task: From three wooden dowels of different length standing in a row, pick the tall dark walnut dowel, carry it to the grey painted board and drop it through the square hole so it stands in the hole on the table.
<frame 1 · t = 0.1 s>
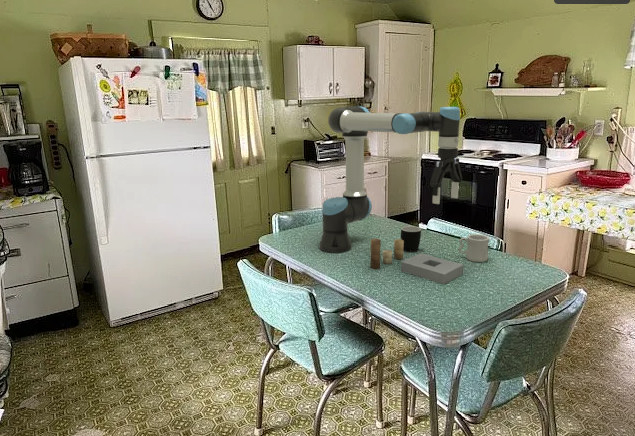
hand: (445, 200, 184), 28 cm above the table, fingers open, 13 cm apart
short pin: (387, 262, 197), on the table
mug: (408, 249, 213), on the table
long pin: (375, 267, 191), on the table
hole board: (431, 272, 185), on the table
medium pin: (398, 257, 202), on the table
mug 2: (472, 259, 199), on the table
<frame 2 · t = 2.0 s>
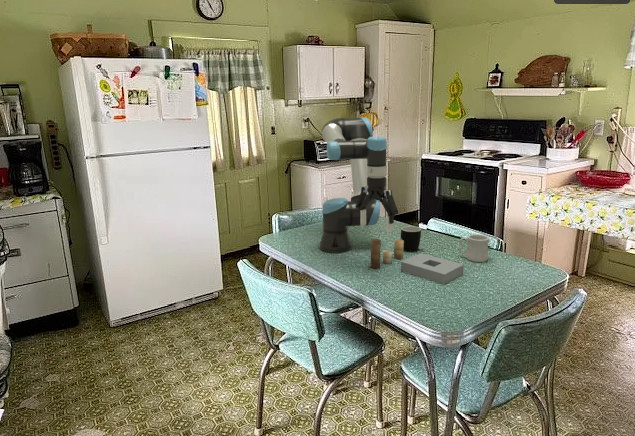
hand: (376, 228, 187), 17 cm above the table, fingers open, 13 cm apart
nothing on the table moved.
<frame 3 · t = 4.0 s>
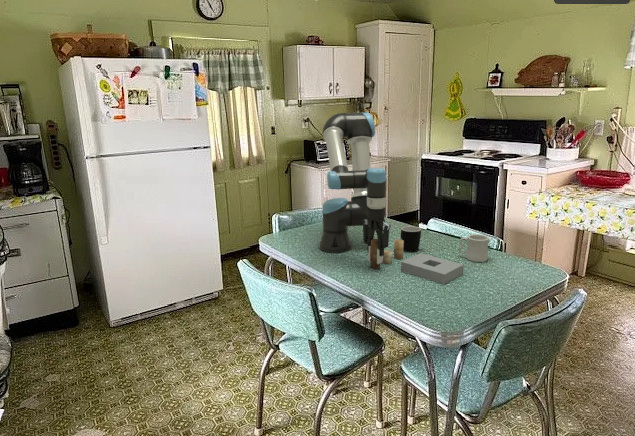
hand: (375, 261, 191), 3 cm above the table, fingers closed on long pin, 4 cm apart
long pin: (375, 267, 191), on the table, touching gripper
everything else where it was.
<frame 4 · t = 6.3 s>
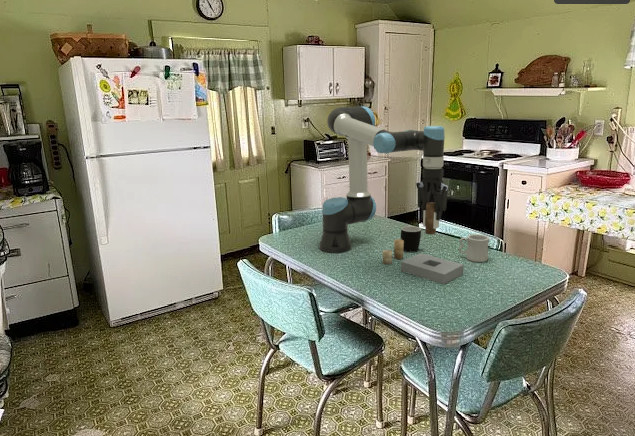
hand: (430, 226, 180), 19 cm above the table, fingers closed on long pin, 4 cm apart
long pin: (430, 233, 180), point 17 cm above the table, touching gripper
everything else where it was.
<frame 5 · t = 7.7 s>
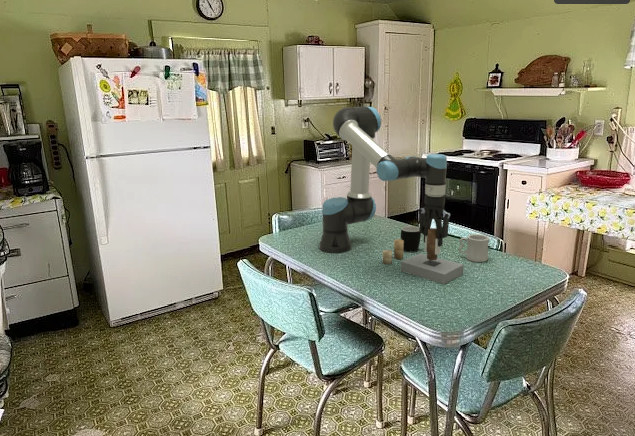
hand: (432, 252, 182), 9 cm above the table, fingers closed on long pin, 4 cm apart
long pin: (432, 258, 183), point 6 cm above the table, touching gripper
everything else where it was.
when the fingers open (5 cm above the table, at t = 8.8 s): long pin drops 2 cm, resting in hole board.
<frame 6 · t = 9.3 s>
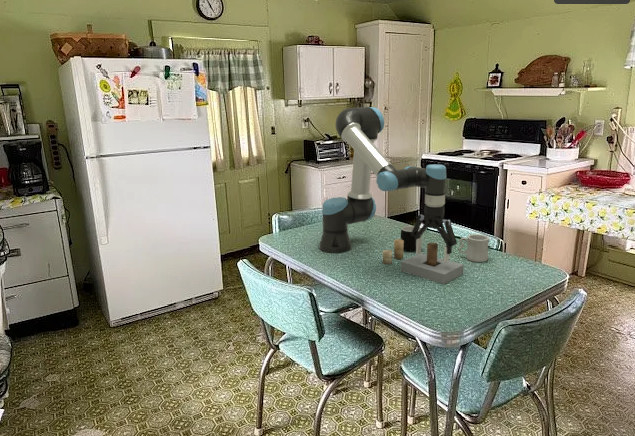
hand: (432, 257, 183), 6 cm above the table, fingers open, 12 cm apart
long pin: (431, 272, 185), resting in hole board
everything else where it was.
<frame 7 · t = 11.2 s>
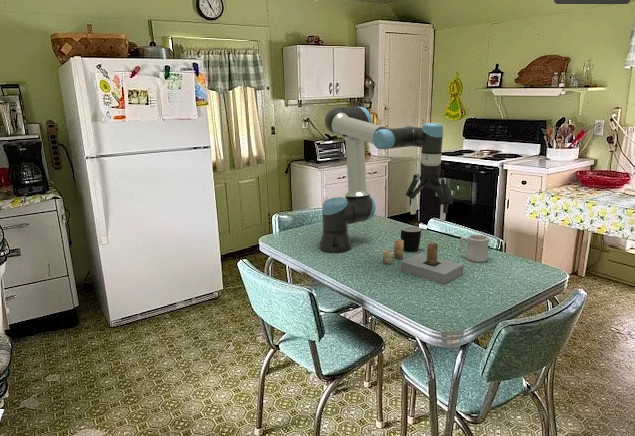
hand: (427, 217, 182), 22 cm above the table, fingers open, 13 cm apart
nothing on the table moved.
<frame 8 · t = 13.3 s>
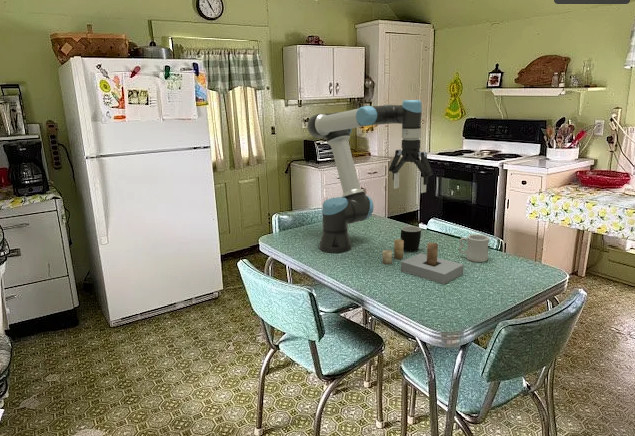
hand: (409, 190, 192), 31 cm above the table, fingers open, 13 cm apart
nothing on the table moved.
at the end: long pin 0.1 cm off-centre on the hole board, point 0.0 cm above the hole board's base; long pin tilted 0°; the gripper is holding nothing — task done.
